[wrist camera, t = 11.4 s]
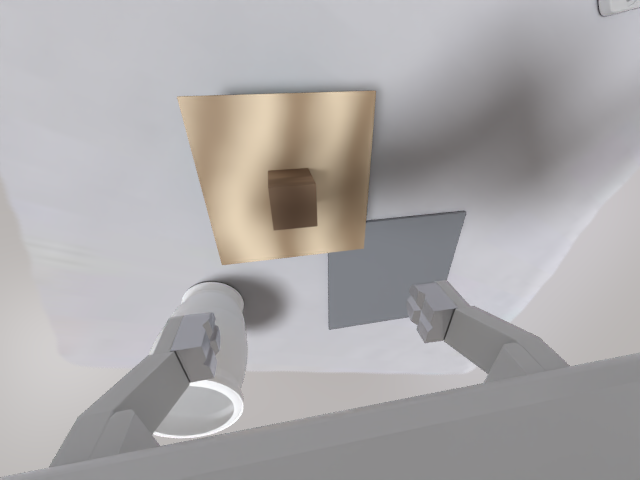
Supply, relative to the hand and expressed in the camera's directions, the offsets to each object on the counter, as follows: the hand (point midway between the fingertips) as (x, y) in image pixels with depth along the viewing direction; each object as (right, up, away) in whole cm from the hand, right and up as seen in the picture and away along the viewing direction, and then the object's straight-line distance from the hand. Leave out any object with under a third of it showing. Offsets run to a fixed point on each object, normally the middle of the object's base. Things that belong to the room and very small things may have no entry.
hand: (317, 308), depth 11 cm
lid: (-3, +8, +13) cm, 16 cm away
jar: (-15, -6, +27) cm, 32 cm away
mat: (+11, -3, +30) cm, 32 cm away
